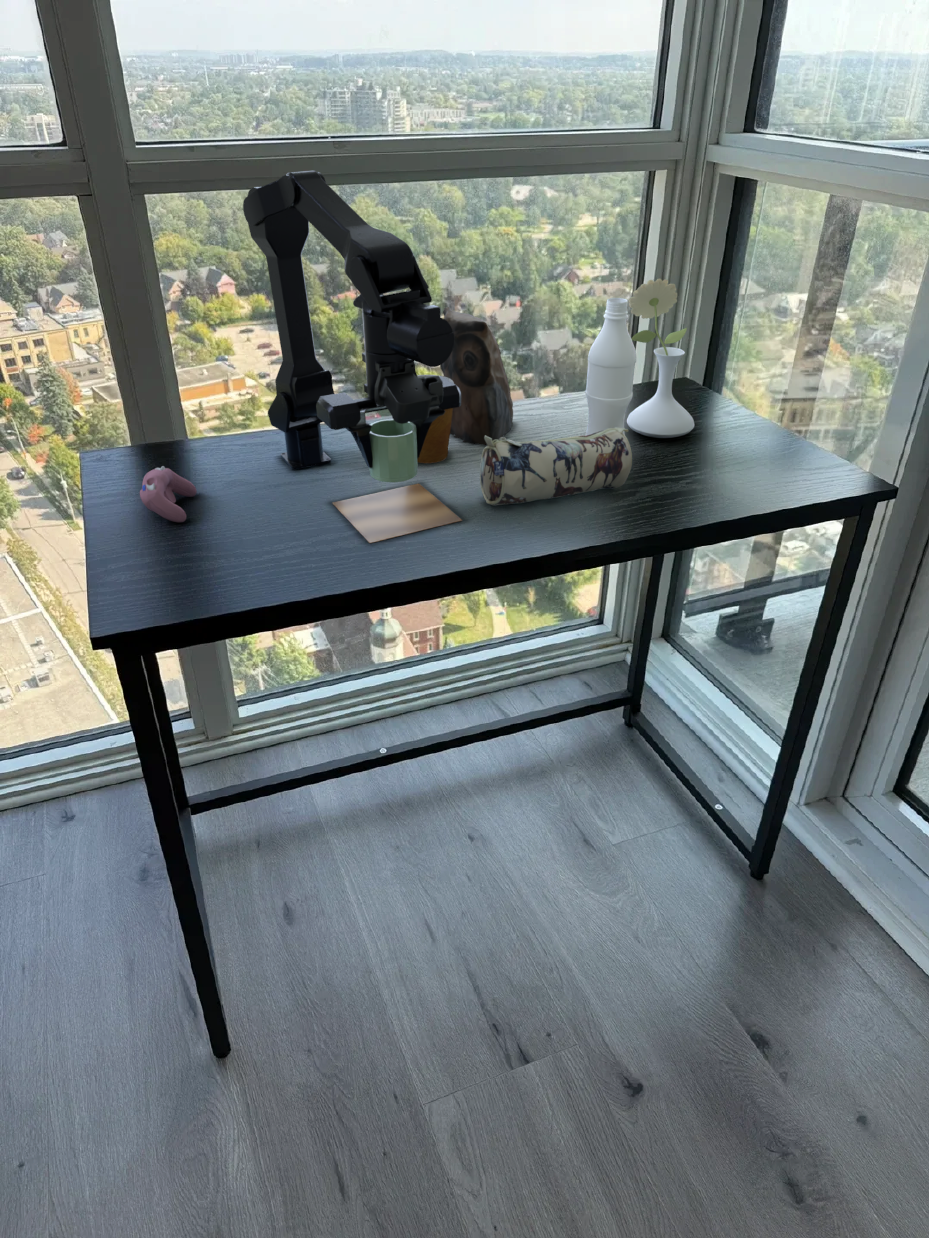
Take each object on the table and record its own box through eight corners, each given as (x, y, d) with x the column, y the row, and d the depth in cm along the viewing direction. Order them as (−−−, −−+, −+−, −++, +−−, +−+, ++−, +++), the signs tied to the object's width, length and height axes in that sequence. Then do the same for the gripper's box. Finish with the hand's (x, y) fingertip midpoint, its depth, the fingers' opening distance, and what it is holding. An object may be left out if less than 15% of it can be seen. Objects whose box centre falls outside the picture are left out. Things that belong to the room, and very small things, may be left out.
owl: (496, 450, 142) (498, 326, 131) (424, 441, 145) (420, 319, 134) (516, 423, 152) (520, 306, 141) (448, 416, 155) (447, 300, 144)
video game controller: (175, 504, 129) (144, 466, 125) (200, 490, 128) (170, 451, 124) (161, 535, 120) (128, 495, 117) (188, 521, 119) (156, 480, 116)
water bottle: (574, 468, 135) (586, 303, 122) (586, 452, 141) (599, 292, 127) (619, 475, 133) (636, 308, 119) (629, 458, 139) (647, 297, 125)
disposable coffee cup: (450, 470, 135) (449, 395, 128) (391, 465, 137) (387, 391, 130) (462, 447, 143) (462, 375, 136) (407, 443, 144) (404, 372, 138)
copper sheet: (332, 503, 125) (332, 502, 125) (418, 484, 131) (418, 483, 131) (369, 543, 115) (369, 542, 115) (462, 520, 120) (462, 520, 120)
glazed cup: (362, 468, 121) (359, 424, 117) (405, 459, 123) (403, 416, 120) (381, 486, 116) (378, 440, 112) (425, 476, 118) (424, 431, 115)
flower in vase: (693, 423, 152) (715, 273, 138) (692, 447, 143) (716, 289, 129) (618, 417, 154) (633, 269, 141) (613, 440, 145) (628, 285, 131)
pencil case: (494, 517, 121) (495, 451, 116) (475, 492, 128) (475, 429, 123) (634, 496, 127) (641, 433, 122) (609, 474, 134) (615, 413, 128)
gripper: (342, 376, 101) (351, 498, 109) (481, 354, 108) (480, 470, 117) (309, 352, 109) (321, 467, 117) (441, 333, 116) (443, 442, 125)
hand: (392, 462), depth 119 cm, fingers closed on glazed cup, 6 cm apart
